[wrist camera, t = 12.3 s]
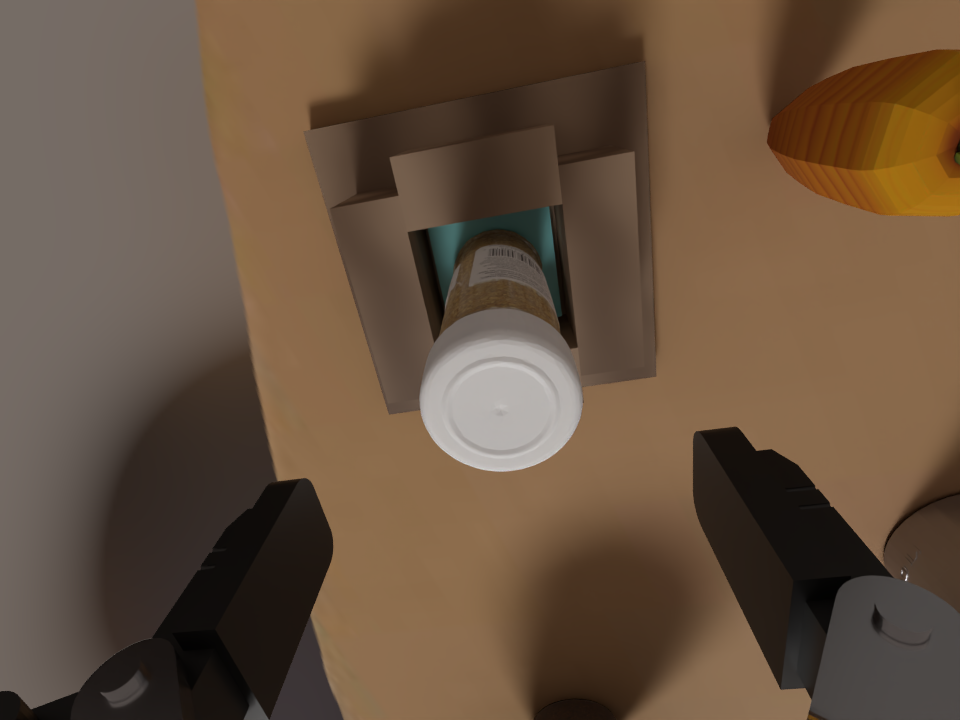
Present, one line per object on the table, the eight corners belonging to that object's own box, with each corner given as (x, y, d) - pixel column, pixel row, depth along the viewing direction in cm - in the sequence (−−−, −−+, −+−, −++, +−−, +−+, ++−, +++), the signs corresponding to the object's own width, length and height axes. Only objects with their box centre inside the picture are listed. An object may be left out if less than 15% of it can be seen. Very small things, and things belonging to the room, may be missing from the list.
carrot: (835, 160, 25) (1239, 214, 11) (732, 199, 26) (992, 291, 12) (825, 51, 23) (1298, -42, 9) (714, 97, 24) (999, 73, 10)
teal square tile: (546, 196, 25) (548, 199, 24) (559, 309, 28) (561, 316, 27) (428, 218, 26) (426, 222, 25) (452, 326, 28) (450, 333, 27)
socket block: (639, 62, 23) (677, 48, 18) (651, 368, 30) (681, 418, 25) (310, 131, 25) (264, 134, 20) (392, 405, 32) (372, 459, 27)
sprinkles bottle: (436, 277, 26) (383, 418, 14) (493, 207, 24) (489, 297, 12) (504, 330, 27) (509, 503, 15) (562, 266, 26) (622, 403, 13)
